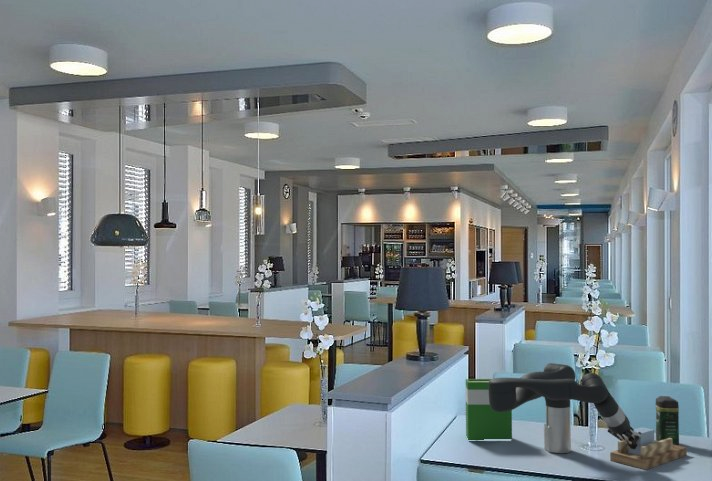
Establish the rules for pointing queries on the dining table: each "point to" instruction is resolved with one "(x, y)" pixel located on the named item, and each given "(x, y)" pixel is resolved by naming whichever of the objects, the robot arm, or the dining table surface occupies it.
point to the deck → (648, 454)
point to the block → (642, 440)
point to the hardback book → (484, 414)
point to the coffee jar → (667, 419)
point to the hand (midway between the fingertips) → (634, 447)
